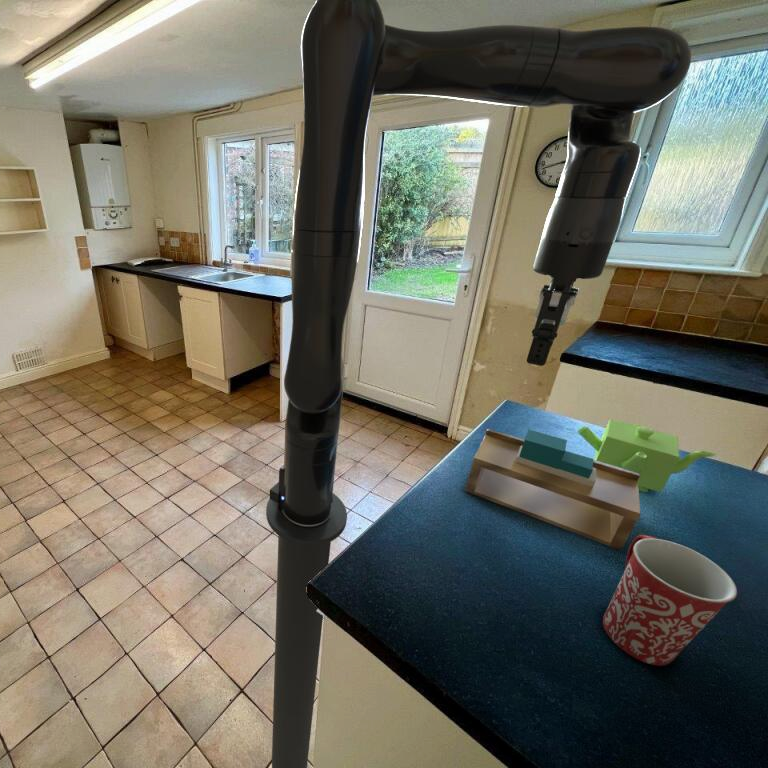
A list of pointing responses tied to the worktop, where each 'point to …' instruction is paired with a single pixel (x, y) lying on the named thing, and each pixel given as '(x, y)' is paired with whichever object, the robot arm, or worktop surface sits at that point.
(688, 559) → the mug
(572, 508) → the shoe shelf
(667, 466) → the kettle
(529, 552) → the worktop surface
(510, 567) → the worktop surface
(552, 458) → the trainer
